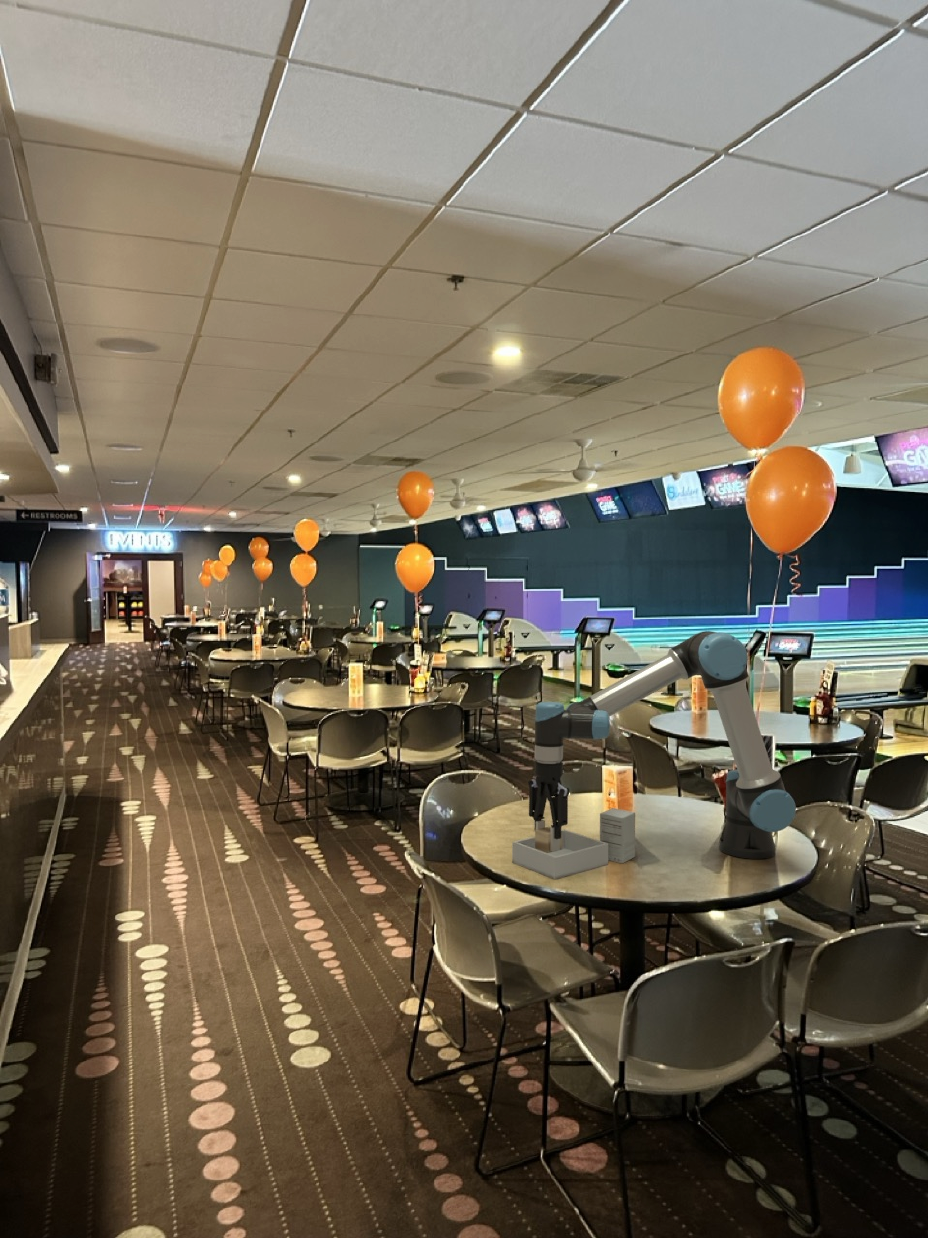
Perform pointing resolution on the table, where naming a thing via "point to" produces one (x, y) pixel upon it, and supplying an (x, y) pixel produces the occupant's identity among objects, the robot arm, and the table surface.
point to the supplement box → (618, 834)
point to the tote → (561, 855)
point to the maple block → (544, 839)
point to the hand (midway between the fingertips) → (547, 847)
